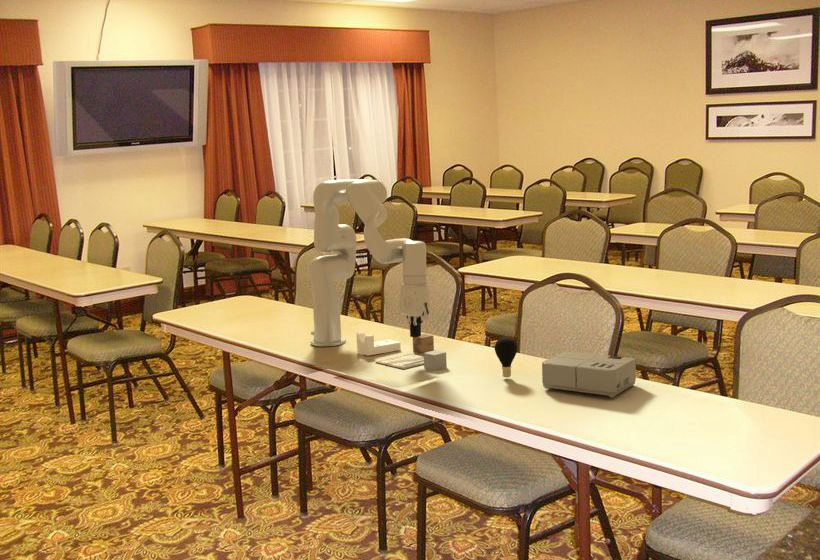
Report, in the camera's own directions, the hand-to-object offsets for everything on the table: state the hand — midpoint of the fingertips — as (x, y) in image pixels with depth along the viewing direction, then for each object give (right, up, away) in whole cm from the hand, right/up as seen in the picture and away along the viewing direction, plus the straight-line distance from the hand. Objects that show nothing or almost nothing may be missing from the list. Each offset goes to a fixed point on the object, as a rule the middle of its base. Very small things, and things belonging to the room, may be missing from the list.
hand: (415, 336), depth 278 cm
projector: (+49, -12, -33) cm, 60 cm away
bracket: (-12, -7, +19) cm, 24 cm away
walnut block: (+3, -7, +17) cm, 18 cm away
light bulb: (+27, -11, -20) cm, 36 cm away
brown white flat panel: (-2, -9, +4) cm, 10 cm away
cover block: (+4, -7, -4) cm, 9 cm away
